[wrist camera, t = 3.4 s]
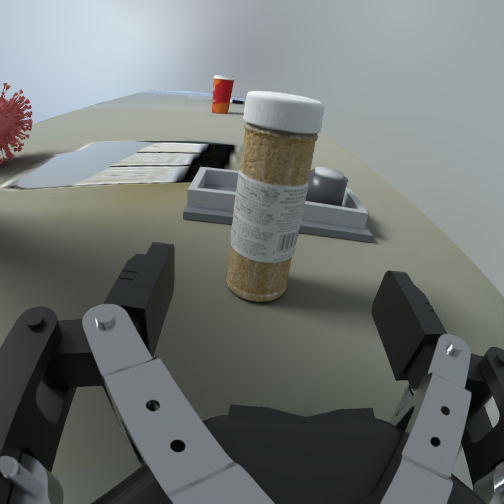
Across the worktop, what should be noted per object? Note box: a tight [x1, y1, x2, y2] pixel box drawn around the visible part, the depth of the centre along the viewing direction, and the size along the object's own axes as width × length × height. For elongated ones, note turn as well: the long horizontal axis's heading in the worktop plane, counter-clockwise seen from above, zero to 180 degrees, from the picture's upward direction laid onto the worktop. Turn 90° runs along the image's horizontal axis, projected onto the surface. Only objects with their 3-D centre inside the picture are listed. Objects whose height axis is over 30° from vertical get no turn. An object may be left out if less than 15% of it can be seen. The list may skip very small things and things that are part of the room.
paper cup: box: [212, 75, 234, 114], centre depth 106 cm, size 8×8×14 cm
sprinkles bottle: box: [226, 91, 324, 302], centre depth 21 cm, size 5×5×14 cm
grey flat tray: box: [183, 167, 373, 242], centre depth 36 cm, size 19×11×5 cm, turn 89°
